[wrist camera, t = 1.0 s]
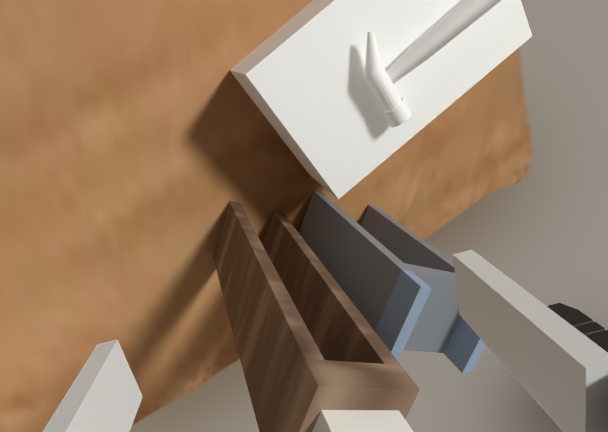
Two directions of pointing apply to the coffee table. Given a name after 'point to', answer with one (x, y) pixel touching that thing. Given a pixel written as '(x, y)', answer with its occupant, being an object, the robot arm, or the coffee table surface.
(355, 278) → the short stand
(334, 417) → the plug
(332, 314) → the tall stand
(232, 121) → the coffee table surface
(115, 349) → the robot arm
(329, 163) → the tissue box
